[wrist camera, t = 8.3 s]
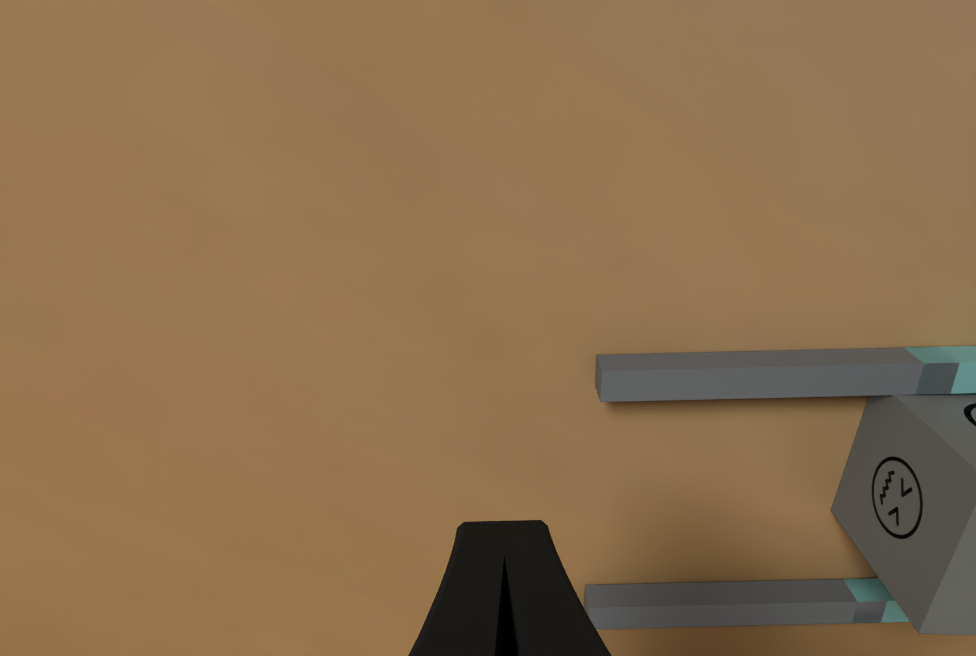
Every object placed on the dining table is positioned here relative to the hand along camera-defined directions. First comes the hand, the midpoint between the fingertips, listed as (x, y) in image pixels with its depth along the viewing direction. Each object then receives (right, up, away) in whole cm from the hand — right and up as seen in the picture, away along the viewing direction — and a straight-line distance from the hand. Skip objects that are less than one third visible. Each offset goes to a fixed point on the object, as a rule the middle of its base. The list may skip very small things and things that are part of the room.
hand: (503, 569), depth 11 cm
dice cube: (+14, 0, +11) cm, 17 cm away
